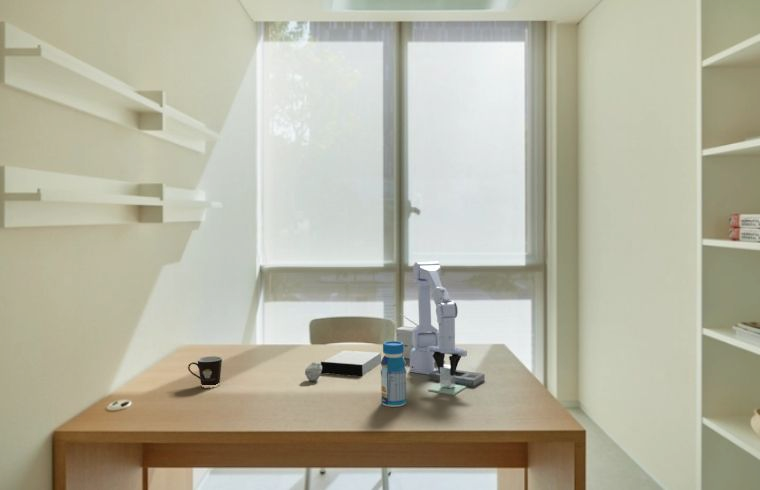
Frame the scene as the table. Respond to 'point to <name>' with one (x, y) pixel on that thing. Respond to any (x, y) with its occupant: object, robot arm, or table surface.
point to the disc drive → (351, 363)
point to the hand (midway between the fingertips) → (447, 374)
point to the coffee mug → (208, 370)
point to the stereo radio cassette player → (407, 338)
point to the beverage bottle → (393, 375)
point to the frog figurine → (313, 371)
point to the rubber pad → (447, 389)
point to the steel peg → (446, 377)
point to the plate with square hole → (461, 378)
